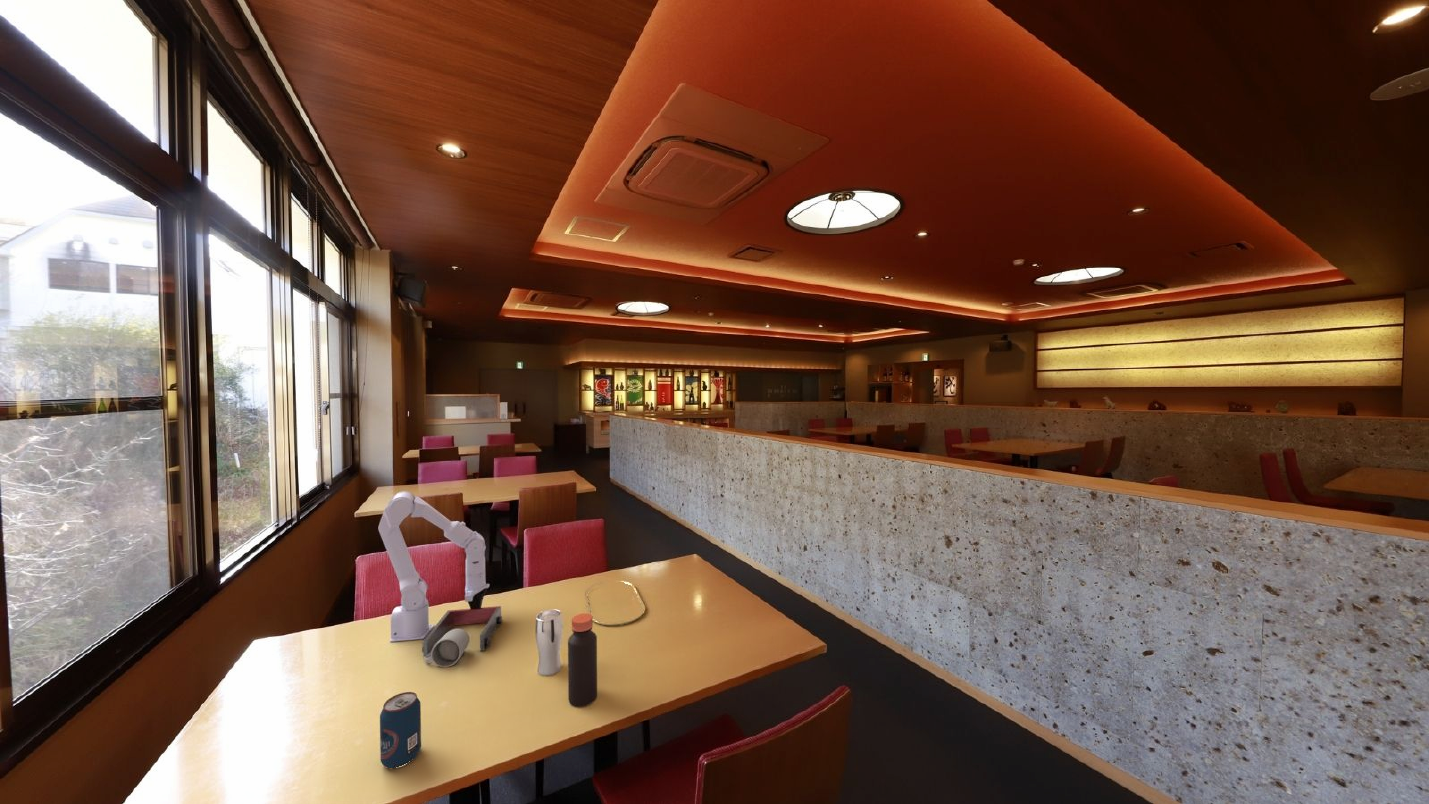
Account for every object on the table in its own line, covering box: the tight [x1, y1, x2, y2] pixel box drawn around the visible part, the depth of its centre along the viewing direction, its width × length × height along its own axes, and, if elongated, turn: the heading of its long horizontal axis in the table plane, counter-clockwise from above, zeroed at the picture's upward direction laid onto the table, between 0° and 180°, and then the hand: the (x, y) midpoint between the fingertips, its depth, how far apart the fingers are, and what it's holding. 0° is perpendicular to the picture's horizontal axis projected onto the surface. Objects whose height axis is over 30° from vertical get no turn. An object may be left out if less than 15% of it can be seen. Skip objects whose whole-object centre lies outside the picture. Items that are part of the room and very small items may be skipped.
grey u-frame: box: [421, 605, 503, 658], centre depth 141 cm, size 18×18×4 cm
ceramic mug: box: [423, 627, 470, 668], centre depth 130 cm, size 11×8×8 cm
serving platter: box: [583, 579, 646, 627], centre depth 164 cm, size 19×35×2 cm, turn 21°
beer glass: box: [534, 608, 564, 677], centre depth 125 cm, size 7×7×15 cm
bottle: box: [567, 612, 598, 708], centre depth 113 cm, size 7×7×20 cm
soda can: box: [379, 691, 422, 769], centre depth 95 cm, size 7×7×12 cm
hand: (476, 613), depth 152 cm, fingers closed
